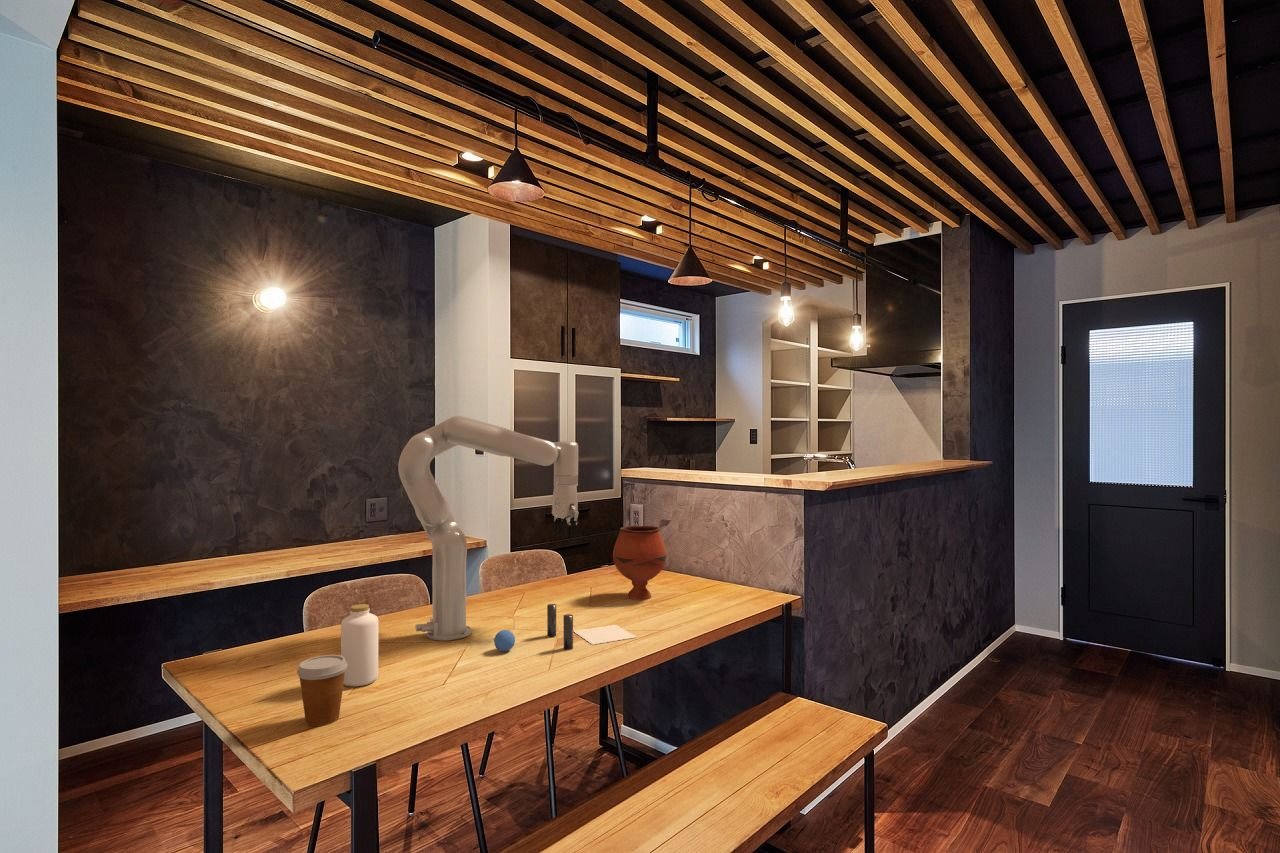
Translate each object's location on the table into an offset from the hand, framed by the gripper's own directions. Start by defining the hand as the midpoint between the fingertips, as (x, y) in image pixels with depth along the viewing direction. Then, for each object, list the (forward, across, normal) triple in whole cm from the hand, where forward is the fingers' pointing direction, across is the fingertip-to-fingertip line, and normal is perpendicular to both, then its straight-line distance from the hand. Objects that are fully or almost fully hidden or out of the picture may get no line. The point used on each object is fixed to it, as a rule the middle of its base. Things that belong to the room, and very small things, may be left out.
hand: (565, 535), depth 208 cm
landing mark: (+27, +17, +6) cm, 32 cm away
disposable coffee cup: (+28, +39, -71) cm, 86 cm away
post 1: (+27, +10, -8) cm, 30 cm away
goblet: (+27, -16, +36) cm, 48 cm away
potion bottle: (+28, +20, -62) cm, 71 cm away
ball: (+25, +16, -24) cm, 38 cm away
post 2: (+27, +23, -8) cm, 37 cm away
